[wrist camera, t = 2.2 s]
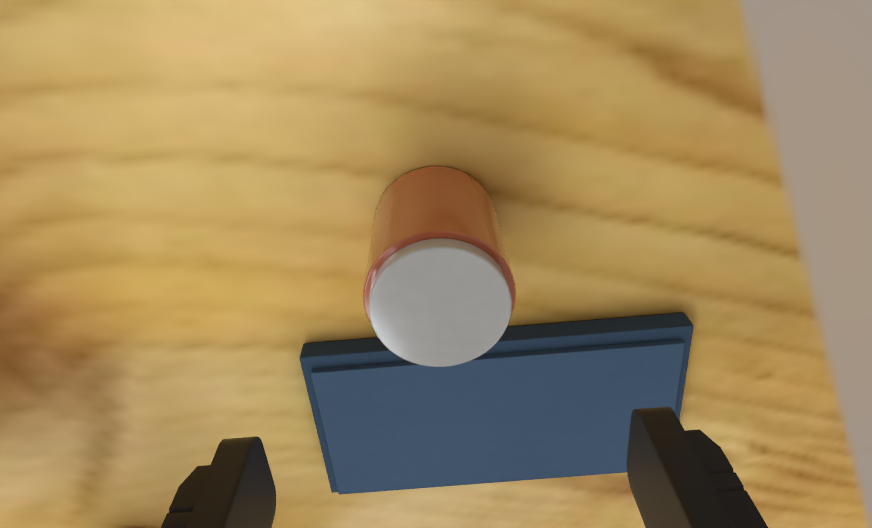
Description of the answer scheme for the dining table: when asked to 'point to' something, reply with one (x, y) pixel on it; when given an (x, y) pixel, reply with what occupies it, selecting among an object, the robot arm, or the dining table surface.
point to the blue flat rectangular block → (493, 404)
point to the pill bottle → (438, 269)
